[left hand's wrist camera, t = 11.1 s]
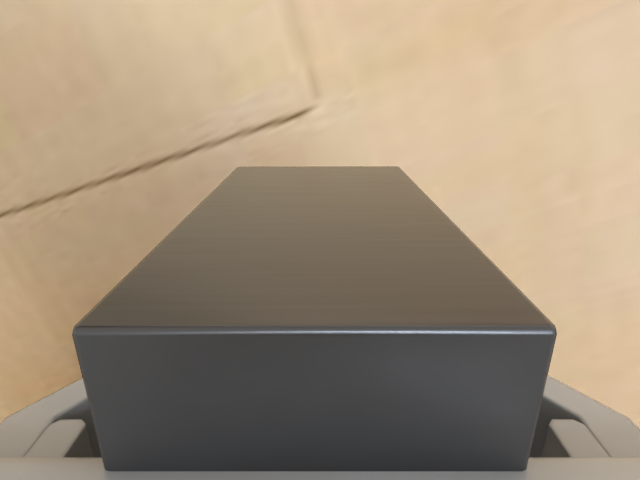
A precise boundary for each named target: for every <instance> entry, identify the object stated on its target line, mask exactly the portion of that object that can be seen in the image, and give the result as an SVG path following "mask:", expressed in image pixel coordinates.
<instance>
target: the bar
mask: <svg viewBox="0 0 640 480" xmlns="http://www.w3.org/2000/svg"><path fill="white" fill-rule="evenodd" d="M556 335H557V333H556V328H555V325H554V324H553V323H552V322H551V321H550V320H549V319H548V318H547V317H546V316H545V315H544V314H543V313H542V312H541V311H540V310H539V309H538V308H537V307H536V306H535V305H534V304H533V303H532V302H531V301H530V300H529V299H528V298H527V297H526V296H525V295H524V294H523V293H522V292H521V291H520V290H519V289H518V288H517V287H516V286H515V285H514V284H513V283H512V282H511V281H510V280H509V279H508V278H507V277H506V276H505V275H504V274H503V273H502V271H501V270H500V269H499V268H498V267H497V266H496V265H495V264H494V263H493V262H492V261H491V260H490V259H489V258H488V257H487V256H486V255H485V254H484V253H483V252H482V251H481V250H480V249H479V248H478V247H477V246H476V245H475V244H474V243H473V242H472V241H471V240H470V239H469V238H468V237H467V236H466V235H465V234H464V233H463V232H462V231H461V230H460V229H459V228H458V227H457V226H456V225H455V224H454V223H453V222H452V221H451V220H450V219H449V218H448V217H447V216H446V215H445V214H444V213H443V211H442V210H441V209H440V208H439V207H438V206H437V205H436V204H435V203H434V202H433V201H432V200H431V199H430V198H429V197H428V196H427V195H426V194H425V193H424V192H423V191H422V190H421V189H420V188H419V187H418V186H417V185H416V184H415V183H414V182H413V181H412V180H411V179H410V178H409V177H408V176H407V175H406V174H405V173H404V172H403V171H402V170H401V169H400V168H399V167H238V168H236V169H235V170H234V171H233V172H232V173H231V174H230V175H229V176H228V177H227V178H226V179H225V180H224V181H223V182H222V183H221V184H220V185H219V186H218V187H217V188H216V189H215V190H214V191H213V192H212V193H211V194H210V195H209V196H208V197H207V198H206V199H205V200H204V201H203V202H202V203H200V204H199V205H198V206H197V207H196V208H195V209H194V210H193V211H192V212H191V213H190V214H189V215H188V216H187V217H186V218H185V219H184V220H183V221H182V222H181V223H180V224H179V225H178V226H177V227H176V228H175V229H174V230H173V231H172V232H171V233H170V234H169V235H168V236H167V237H166V238H165V239H164V240H163V241H162V242H161V243H159V244H158V245H157V246H156V247H155V248H154V249H153V250H152V251H151V252H150V253H149V254H148V255H147V256H146V257H145V258H144V259H143V260H142V261H141V262H140V263H139V264H138V265H137V266H136V267H135V268H134V269H133V270H132V271H131V272H130V273H129V274H128V275H127V276H126V277H125V278H124V279H123V280H122V281H121V282H120V283H119V284H117V285H116V286H115V287H114V288H113V289H112V290H111V291H110V292H109V293H108V294H107V295H106V296H105V297H104V298H103V299H102V300H101V301H100V302H99V303H98V304H97V305H96V306H95V307H94V308H93V309H92V310H91V311H90V312H89V313H88V314H87V315H86V316H85V317H84V318H83V319H82V320H81V321H80V322H79V323H78V324H76V325H75V327H74V329H73V339H74V344H75V348H76V352H77V356H78V360H79V364H80V369H81V373H82V377H83V381H84V385H85V389H86V393H87V398H88V402H89V406H90V410H91V414H92V418H93V423H94V427H95V431H96V435H97V439H98V443H99V448H100V452H101V456H102V460H103V464H104V468H105V470H107V471H524V470H526V468H527V464H528V459H529V455H530V451H531V446H532V442H533V437H534V433H535V428H536V424H537V419H538V415H539V411H540V406H541V402H542V397H543V393H544V388H545V384H546V379H547V375H548V371H549V366H550V362H551V357H552V353H553V348H554V344H555V339H556Z"/></svg>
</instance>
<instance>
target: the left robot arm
mask: <svg viewBox="0 0 640 480" xmlns="http://www.w3.org/2000/svg"><path fill="white" fill-rule="evenodd" d="M0 480H640V429H639V428H638V427H637V426H636V425H635V424H634V423H633V422H632V421H631V420H630V419H629V418H628V417H626V416H624V415H622V414H620V413H618V412H616V411H615V410H613V409H611V408H609V407H607V406H605V405H603V404H601V403H599V402H597V401H596V400H594V399H592V398H590V397H588V396H586V395H584V394H582V393H580V392H579V391H577V390H575V389H573V388H571V387H569V386H567V385H565V384H563V383H562V382H560V381H558V380H556V379H554V378H552V377H550V376H548V375H547V379H546V384H545V388H544V393H543V397H542V402H541V406H540V411H539V415H538V419H537V424H536V428H535V433H534V437H533V442H532V446H531V451H530V455H529V459H528V464H527V468H526V470H524V471H107V470H105V468H104V464H103V460H102V456H101V452H100V448H99V443H98V439H97V435H96V431H95V427H94V423H93V418H92V414H91V410H90V406H89V402H88V398H87V393H86V389H85V385H84V381H83V378H81V379H79V380H77V381H75V382H74V383H72V384H70V385H68V386H66V387H64V388H62V389H60V390H58V391H56V392H54V393H52V394H50V395H49V396H47V397H45V398H43V399H41V400H39V401H37V402H35V403H33V404H31V405H29V406H27V407H26V408H24V409H22V410H20V411H18V412H16V413H14V414H12V415H10V416H8V417H6V418H5V419H4V420H3V421H2V423H1V424H0Z"/></svg>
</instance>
